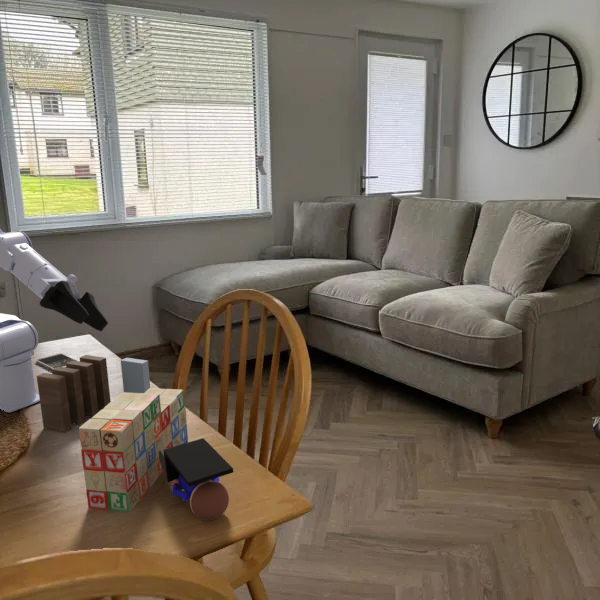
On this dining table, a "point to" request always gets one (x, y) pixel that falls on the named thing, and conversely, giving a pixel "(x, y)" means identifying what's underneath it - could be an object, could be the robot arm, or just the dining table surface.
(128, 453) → the stack of blocks
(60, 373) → the domino
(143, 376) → the domino
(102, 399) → the domino
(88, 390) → the domino
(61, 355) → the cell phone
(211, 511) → the figurine character
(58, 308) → the robot arm
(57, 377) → the domino
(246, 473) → the dining table surface
